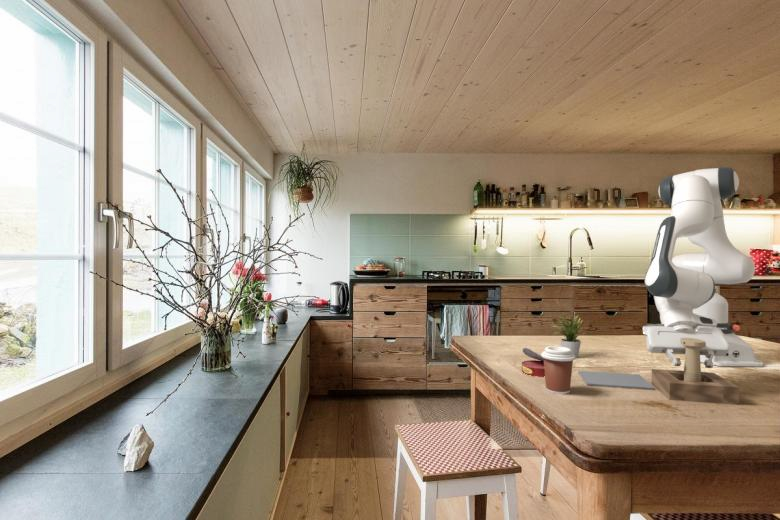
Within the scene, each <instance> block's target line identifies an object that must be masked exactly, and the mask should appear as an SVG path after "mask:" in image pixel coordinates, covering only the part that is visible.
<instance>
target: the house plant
mask: <svg viewBox="0 0 780 520" xmlns="http://www.w3.org/2000/svg"><path fill="white" fill-rule="evenodd" d="M574 315H575V314H572V316H571V318H570V322H569V320H568V319H567V317H566V316H565V315H563V316H560V315H559V317H560V318H561V319H560V320H557V319H556V318H554V321H556V322H557V323H559V324H560V323H561V324H560V326H557V325H551V327H553V328H555V329H554V330H556V331H555V332H554V334H555V336H556V334H557V335H558V334H559V333H560V334H561V335H563V337H564V338H560V345H561V347H566V348H569V349H571V350H572V353H573V354H574V355H575V359H578V358H579V353H580V349H581V344H582V341H581V339H577V338H578V337H579V335H580V334H581V333H584V332H589V331H588V330H584V331H583V330H582V331H580V332H578V331H579V330H580V328H581V327H582V326H583V325H584V324H586V322H587V321H584V322H583V320H581V318H579V319H578V317H579V315H576V316H574ZM550 319H553V318H550ZM580 320H581V321H580ZM582 322H583V323H582ZM556 328H557V329H556ZM557 330H558V331H557ZM559 330H560V331H559Z"/></svg>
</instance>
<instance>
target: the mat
mask: <svg viewBox="0 0 780 520" xmlns="http://www.w3.org/2000/svg"><path fill="white" fill-rule="evenodd" d="M578 374H579V376H580V375H581V376H580V377H581V379H582V378H583V379H582V380H583V381H585V382H584V383H585V385H586V384H587V385H593V386H592V387H602V386H608V387H607V388H617V387H624V388H623V389H632V388H636V389H637V390H646V391H647V390H649V391H655V390H656V388H655V387H654V386H653V385H652V383H650V382H648V381H647V380H646V379H645V378H644V377H643V376H642V375H641V374H640V373H639V374H636V373H622V372H621V373H620V372H619V373H617V372H605V371H604V372H603V371H586V370H578ZM587 385H586V386H587ZM636 389H635V390H636Z"/></svg>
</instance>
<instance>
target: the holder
mask: <svg viewBox="0 0 780 520" xmlns="http://www.w3.org/2000/svg"><path fill="white" fill-rule="evenodd" d="M651 385H652V386H653V387H654V388H655V389H657V390H658V391H659V392H660V393H661V394H662V395H664V396H665V397H666V398H667V399H668V400H669V401H684V402H685V401H686V402H699V403H709V404H710V403H712V404H713V403H714V404H726V405H740V387H739V386H737V385H736V384H734V383H732V382H731V381H729V380H727V379H725V378H724V377H722V376H720V375H718V374H716V373H715V372H708V371H701V382H695V381H684V370H671V369H655V368H654V369H652V368H651Z"/></svg>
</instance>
